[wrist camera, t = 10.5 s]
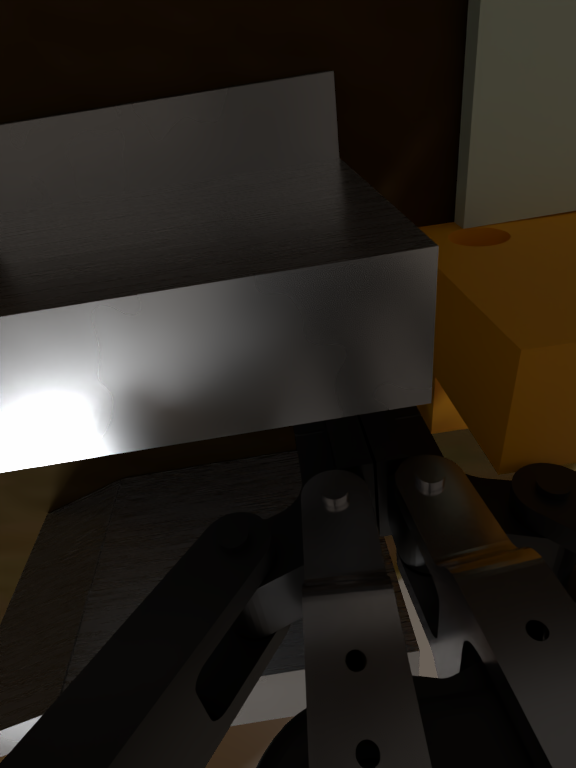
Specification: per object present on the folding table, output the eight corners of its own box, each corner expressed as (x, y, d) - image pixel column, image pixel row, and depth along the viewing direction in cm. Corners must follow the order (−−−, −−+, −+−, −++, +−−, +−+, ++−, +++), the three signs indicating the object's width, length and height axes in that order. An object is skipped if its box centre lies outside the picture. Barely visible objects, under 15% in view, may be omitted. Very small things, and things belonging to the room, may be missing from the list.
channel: (-181, 153, 10) (-738, 267, 4) (327, 70, 10) (446, 76, 4) (76, 560, 18) (0, 790, 12) (359, 514, 18) (416, 723, 12)
